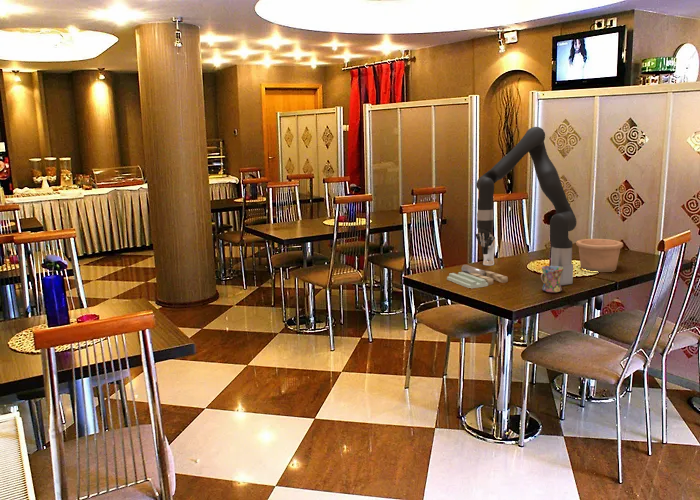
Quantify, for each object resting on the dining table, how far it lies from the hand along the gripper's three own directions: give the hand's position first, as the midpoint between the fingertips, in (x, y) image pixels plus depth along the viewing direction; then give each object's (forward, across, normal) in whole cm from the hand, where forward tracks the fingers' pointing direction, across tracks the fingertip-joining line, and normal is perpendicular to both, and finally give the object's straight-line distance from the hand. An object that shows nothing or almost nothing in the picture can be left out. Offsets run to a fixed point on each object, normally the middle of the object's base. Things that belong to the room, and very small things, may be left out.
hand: (484, 254), depth 286 cm
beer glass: (+12, +27, -22) cm, 36 cm away
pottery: (+13, -12, -61) cm, 64 cm away
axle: (+11, +11, -1) cm, 15 cm away
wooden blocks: (+12, -2, 0) cm, 13 cm away
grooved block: (+12, -2, +12) cm, 17 cm away
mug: (+13, -33, -11) cm, 37 cm away
